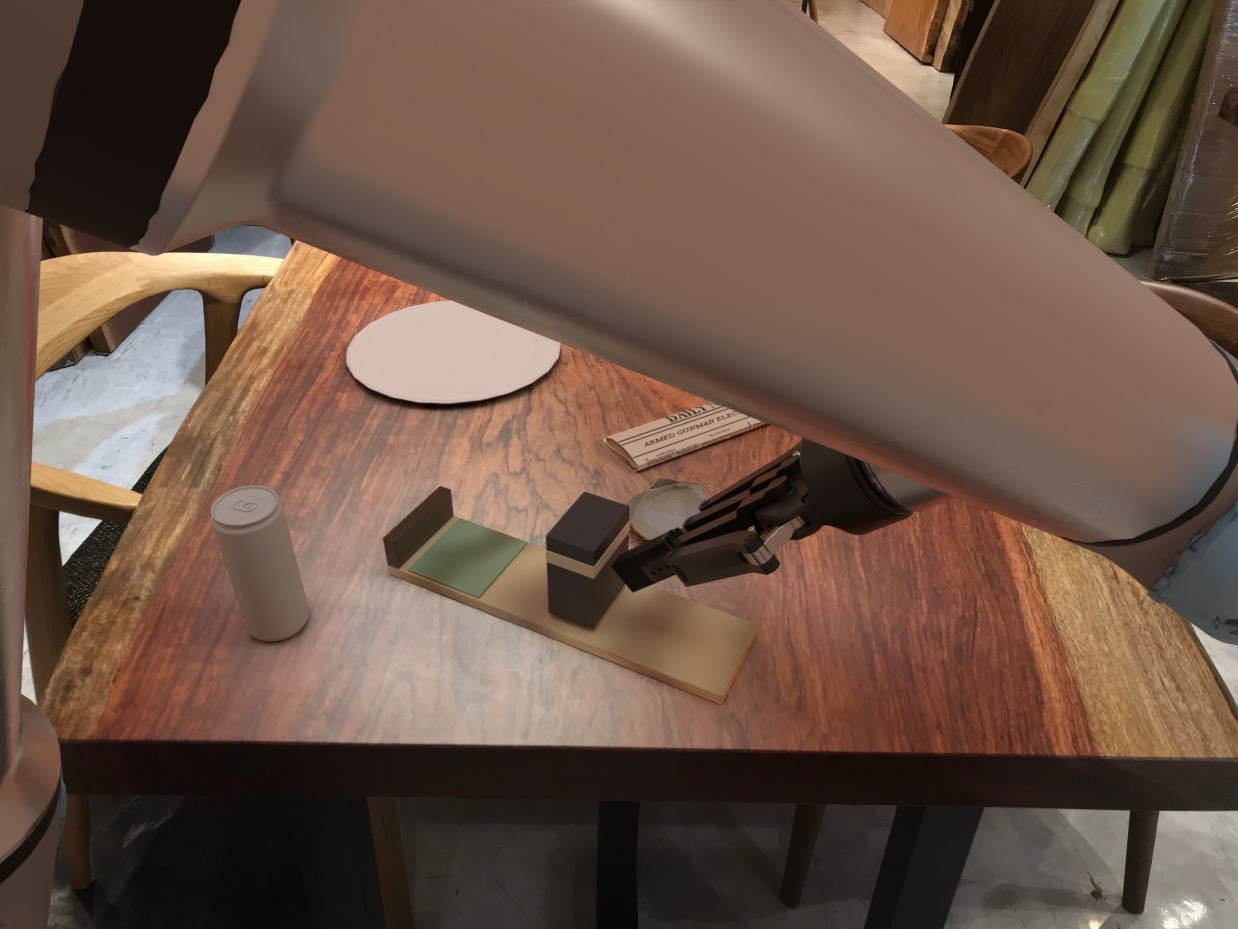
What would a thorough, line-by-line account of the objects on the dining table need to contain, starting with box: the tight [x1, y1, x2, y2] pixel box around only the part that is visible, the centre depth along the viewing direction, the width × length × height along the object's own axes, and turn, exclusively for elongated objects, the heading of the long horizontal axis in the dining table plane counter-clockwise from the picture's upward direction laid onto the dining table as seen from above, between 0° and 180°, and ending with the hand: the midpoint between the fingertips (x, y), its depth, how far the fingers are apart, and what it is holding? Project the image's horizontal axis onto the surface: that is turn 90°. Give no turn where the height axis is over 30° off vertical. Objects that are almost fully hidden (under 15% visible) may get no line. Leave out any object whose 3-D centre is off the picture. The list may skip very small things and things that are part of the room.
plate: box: [345, 300, 562, 406], centre depth 106 cm, size 25×25×1 cm
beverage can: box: [210, 484, 310, 642], centre depth 67 cm, size 5×5×12 cm
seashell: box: [627, 477, 708, 542], centre depth 80 cm, size 8×3×8 cm
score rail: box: [382, 485, 759, 705], centre depth 72 cm, size 30×8×4 cm, turn 64°
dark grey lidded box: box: [545, 491, 631, 630], centre depth 69 cm, size 4×6×8 cm
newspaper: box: [601, 401, 768, 472], centre depth 95 cm, size 24×7×2 cm, turn 122°
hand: (626, 573), depth 68 cm, fingers closed
